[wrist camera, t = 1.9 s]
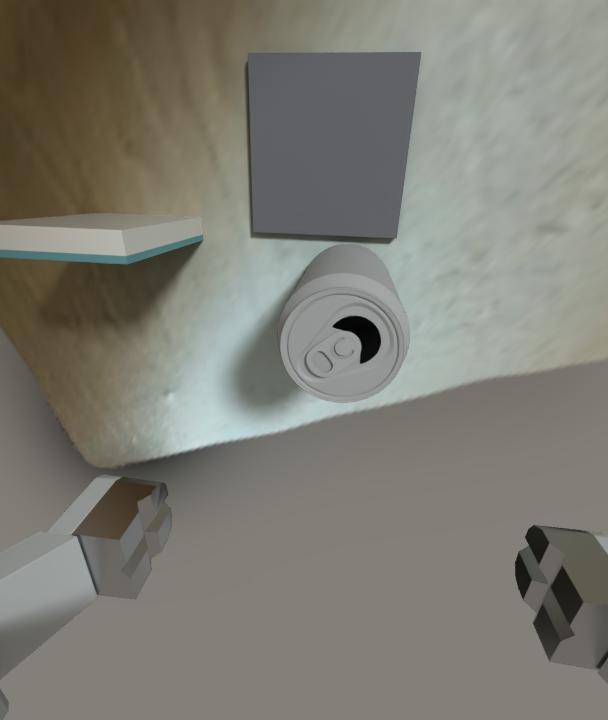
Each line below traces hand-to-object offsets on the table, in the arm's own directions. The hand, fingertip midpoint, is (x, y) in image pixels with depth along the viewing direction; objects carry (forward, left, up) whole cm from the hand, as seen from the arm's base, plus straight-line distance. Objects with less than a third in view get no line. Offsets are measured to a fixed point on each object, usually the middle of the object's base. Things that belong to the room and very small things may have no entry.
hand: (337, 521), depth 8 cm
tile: (-4, -15, -21) cm, 26 cm away
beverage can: (0, 0, -21) cm, 21 cm away
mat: (-9, -2, -21) cm, 23 cm away
